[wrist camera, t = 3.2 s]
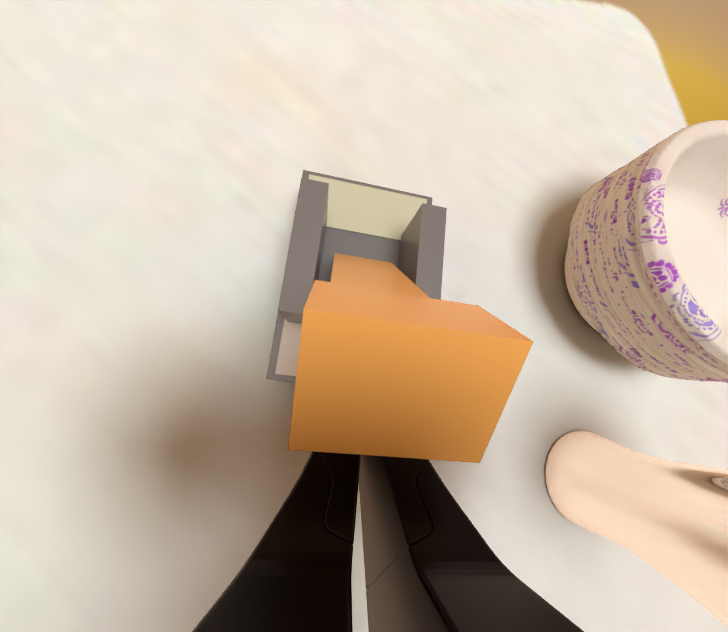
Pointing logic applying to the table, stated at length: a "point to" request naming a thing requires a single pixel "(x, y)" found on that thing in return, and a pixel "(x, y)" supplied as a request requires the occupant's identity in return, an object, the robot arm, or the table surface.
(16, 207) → the table surface
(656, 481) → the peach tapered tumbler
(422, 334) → the breaker lever
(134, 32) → the table surface
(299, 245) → the breaker block
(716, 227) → the paper bowls
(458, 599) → the robot arm
